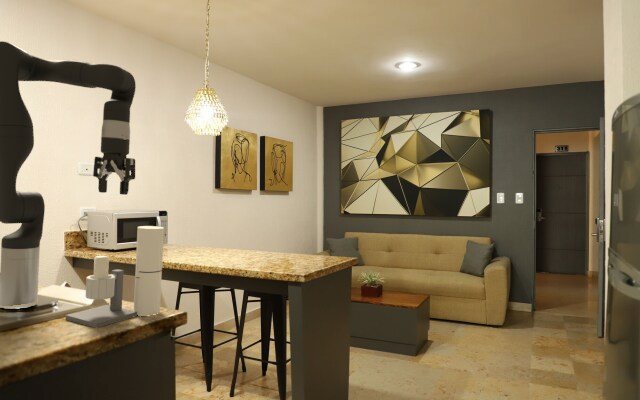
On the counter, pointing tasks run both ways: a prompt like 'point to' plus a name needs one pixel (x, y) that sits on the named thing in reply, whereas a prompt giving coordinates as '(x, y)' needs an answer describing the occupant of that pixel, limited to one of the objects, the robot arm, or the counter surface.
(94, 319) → the cup bracket
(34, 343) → the counter surface
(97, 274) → the dowel
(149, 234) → the cylindrical container
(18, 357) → the counter surface
